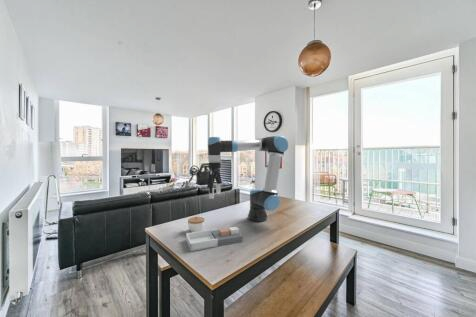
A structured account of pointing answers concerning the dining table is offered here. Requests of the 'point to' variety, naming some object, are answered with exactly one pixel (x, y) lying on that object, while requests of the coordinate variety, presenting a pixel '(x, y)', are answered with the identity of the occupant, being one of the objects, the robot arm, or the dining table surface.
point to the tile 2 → (233, 230)
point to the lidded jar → (196, 224)
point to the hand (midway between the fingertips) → (215, 196)
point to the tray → (201, 240)
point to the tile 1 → (224, 232)
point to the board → (227, 238)
